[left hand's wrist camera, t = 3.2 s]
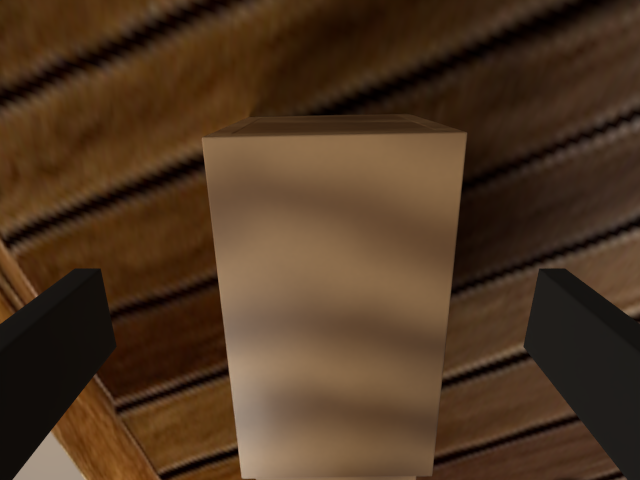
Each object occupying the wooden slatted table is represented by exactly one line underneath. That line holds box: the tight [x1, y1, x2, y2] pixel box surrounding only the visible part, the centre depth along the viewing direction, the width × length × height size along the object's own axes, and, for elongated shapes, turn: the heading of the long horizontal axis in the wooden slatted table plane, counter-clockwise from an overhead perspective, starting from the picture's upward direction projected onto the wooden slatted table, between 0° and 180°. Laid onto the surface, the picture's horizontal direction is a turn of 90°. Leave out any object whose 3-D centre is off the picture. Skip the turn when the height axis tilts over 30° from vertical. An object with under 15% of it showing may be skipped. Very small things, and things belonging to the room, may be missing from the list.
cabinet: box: [202, 114, 467, 479], centre depth 26 cm, size 19×11×12 cm, turn 1°
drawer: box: [256, 476, 416, 480], centre depth 27 cm, size 23×10×10 cm, turn 1°
